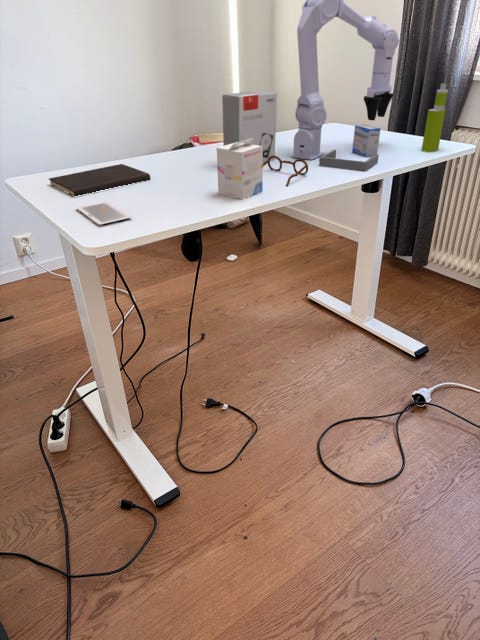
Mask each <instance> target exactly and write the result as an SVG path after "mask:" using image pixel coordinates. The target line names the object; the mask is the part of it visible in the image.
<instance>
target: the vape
mask: <svg viewBox="0 0 480 640" xmlns="http://www.w3.org/2000/svg"><path fill="white" fill-rule="evenodd" d="M448 93H449V90H448V89H447V83H440V87H439V89H437V90H436V96H435V101H434V106H433V108H430V109H428V110H427V116H426V122H425V129H424V134H423V139H422V145H421V152H424V151H425V152H424V153H432V151H433V152H437V151H436V150H438V151H439V147H440V142H441V136H442V130H443V126H444V121H445V116H446V110H447V109H445V108H446V103H447V96H448Z"/></svg>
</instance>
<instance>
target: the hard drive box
mask: <svg viewBox="0 0 480 640" xmlns="http://www.w3.org/2000/svg"><path fill="white" fill-rule="evenodd" d="M277 97H278V92H274V91H269V90H268V91H267V90H254V91H245V92H233V93H228V94H227V93H225V94H222V96H221V98H222V99H221V100H222V136H223V139H222V140H223V141H222V142H223V145H222V146H225V145H228V144H232V143H236V142H240V141H244V140H247V139H250V138H254V139H253V140H252V141H251V143H250V144H252V145H259V146H263V163H264V162H266V161H267V160H268V158H269V157H270V156H276V134H277V133H276V129H277V128H276V127H277V102H278V99H277ZM243 143H245V142H243ZM275 160H276V158H271V159H270V162H271V161H272V162H273V161H275Z"/></svg>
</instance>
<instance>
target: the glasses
mask: <svg viewBox="0 0 480 640" xmlns="http://www.w3.org/2000/svg"><path fill="white" fill-rule="evenodd" d="M271 158H275V160H277V161H278V162H279V168H273V167H272V165H271V161H270V159H271ZM298 162H300V163H303V164H304V166H302V168H300V169H299V170H297V167H296V163H298ZM283 164H288V165H289V164H290V165H292V168H293V171H294V173H295V174H294V173H293V174H292V175H290V176H289V177H288V178H287V181H286V184H285V186H286V187H285V188H287V187H288V186H289V185H290V182H291V179H293V178H296V177H298V176H300V175H302V176H305V175H307V173H308V172H309V164H308V163H307V161H306V160H305V159H301V158H296V159H294V161H290V160H282V159H281V158H280V157H279V156H278V155H275V156H270V157H269V158H268V160H267V161H266V162H263V167H264V166H266V165H267V166H268V167H269V168H268V169H270V171H272V170H274V171H273V172H280V171H281V170H282V168H283ZM304 170H305V171H304ZM303 171H304V172H303Z"/></svg>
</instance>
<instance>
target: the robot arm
mask: <svg viewBox="0 0 480 640" xmlns="http://www.w3.org/2000/svg"><path fill="white" fill-rule="evenodd" d="M299 18H300V19H299V21H298V24H297V28H296V29H297V30H296V34H297V47H298V65H299V81H300V96H299V97H298V98H297V101H296V102H297V103H296V105H297V106H296V109H295V119H296V121H297V123H298V130H297V132H296V133H295V135H294V137H293V153H292V155H290V158H292V159H293V158H294V159H302V160H310V161H314V160H315V159H317V158H320V157H321V156H323V155H325V152H324V151H321V139H322V128H323V125H324V124H325V122H326V120H327V118H328V117H327V110H326V108H325V106H324V105H325V104H324V100H323V98H322V96H321V94H320V87H319V64H318V61H319V60H318V37H317V34H318V33H319V32H320V31H321V29H322V28H323V27H324V26H325V25H327V23H329V22H331V21H332V20H334V18H338V19H340V20H341V21H344V22H345V23H346V24H348V25H351V26H352V27H353V28H355V29H356V32H357V33H356V34H357V35H358V36H359V37H361V38H362V39H363V40H365V41H366V42H368V43H370V44H371V46H372V48H373V49H374V56H373V64H372V75H371V84H370V87H367V88H366V89H367V92H366V95H364V96H363V101H364V103H365V108H366V114H367V115H366V116H367V120H368V121H375V120H376V118H377V117H378V118H385V117H386V116H385V115H386V113H387V110H388V108H389V104H390V102H391V101H392V99H393V97H394V94H395V93H392V85H390V83H391V82H390V81H391V74H392V67H393V59H394V55H395V53H396V52H395V51H396V50H397V47H398V46H399V43H400V39H399V35H398V32H397V31H396V30H394V29H389V28H388V27H387V26H388V25H387V24H385V23H381V22H380V21H378V20H377V16H375V15H366V16H363V15H361V14H360V13H359V12H358V11H357V10H355V8H354V7H353V8H352V6H350V4H348V3H347V2H345V1H344V0H305V2H304V3H303V4H302V5H301V16H300V17H299Z"/></svg>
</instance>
